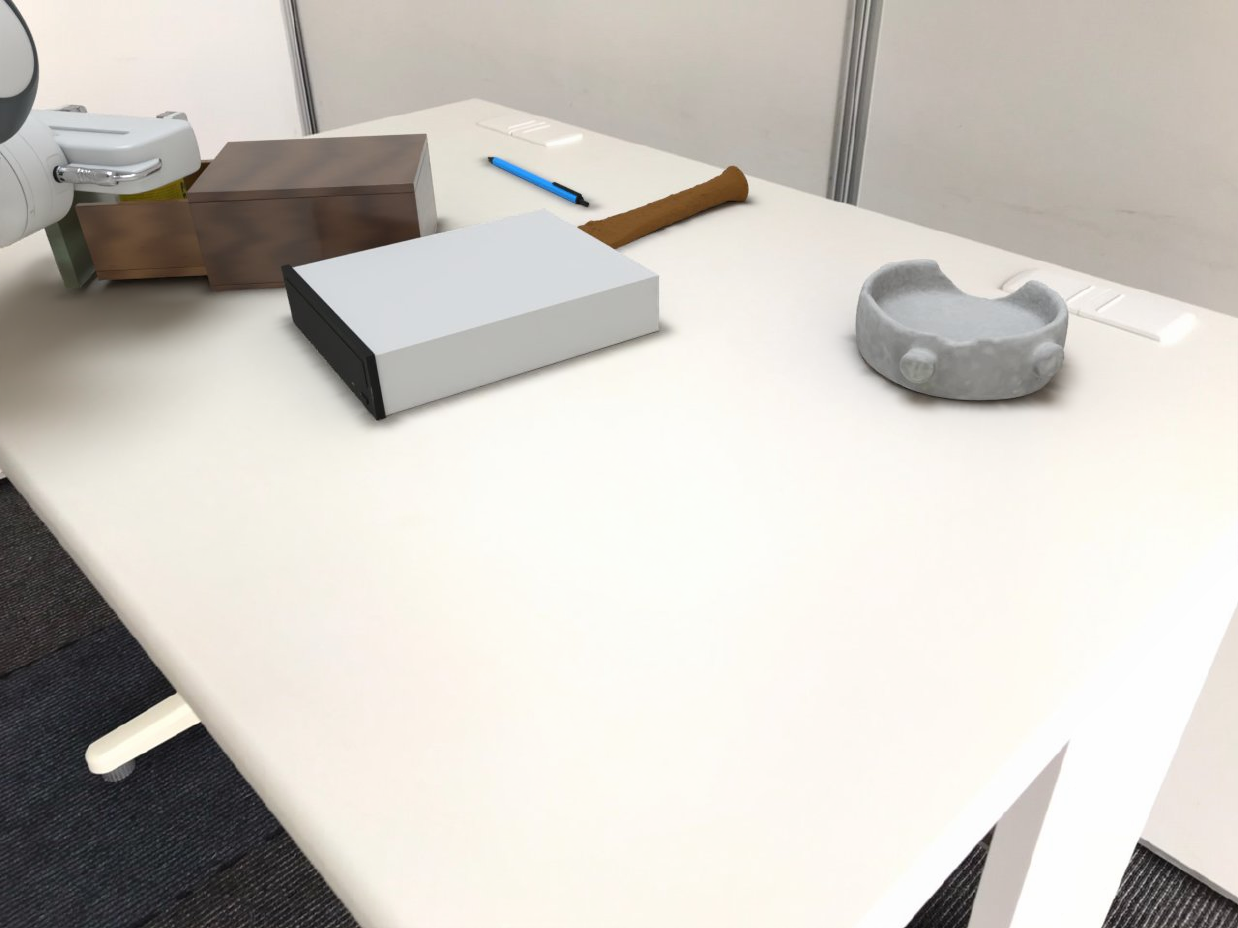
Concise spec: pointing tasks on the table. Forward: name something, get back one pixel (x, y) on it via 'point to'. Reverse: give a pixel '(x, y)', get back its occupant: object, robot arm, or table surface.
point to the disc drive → (468, 307)
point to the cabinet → (308, 203)
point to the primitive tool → (669, 209)
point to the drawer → (126, 238)
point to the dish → (959, 334)
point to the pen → (540, 181)
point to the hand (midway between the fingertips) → (130, 118)
